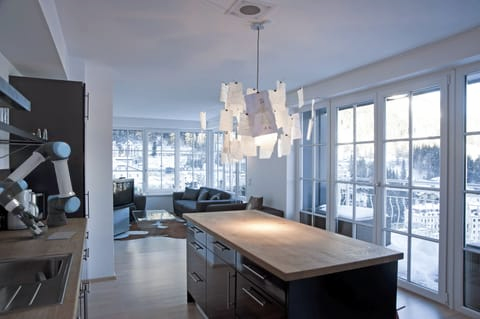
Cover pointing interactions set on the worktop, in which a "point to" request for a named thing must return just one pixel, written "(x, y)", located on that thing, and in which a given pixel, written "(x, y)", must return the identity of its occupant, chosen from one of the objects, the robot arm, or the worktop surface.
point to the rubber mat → (60, 235)
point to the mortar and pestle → (41, 227)
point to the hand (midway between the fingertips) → (42, 230)
